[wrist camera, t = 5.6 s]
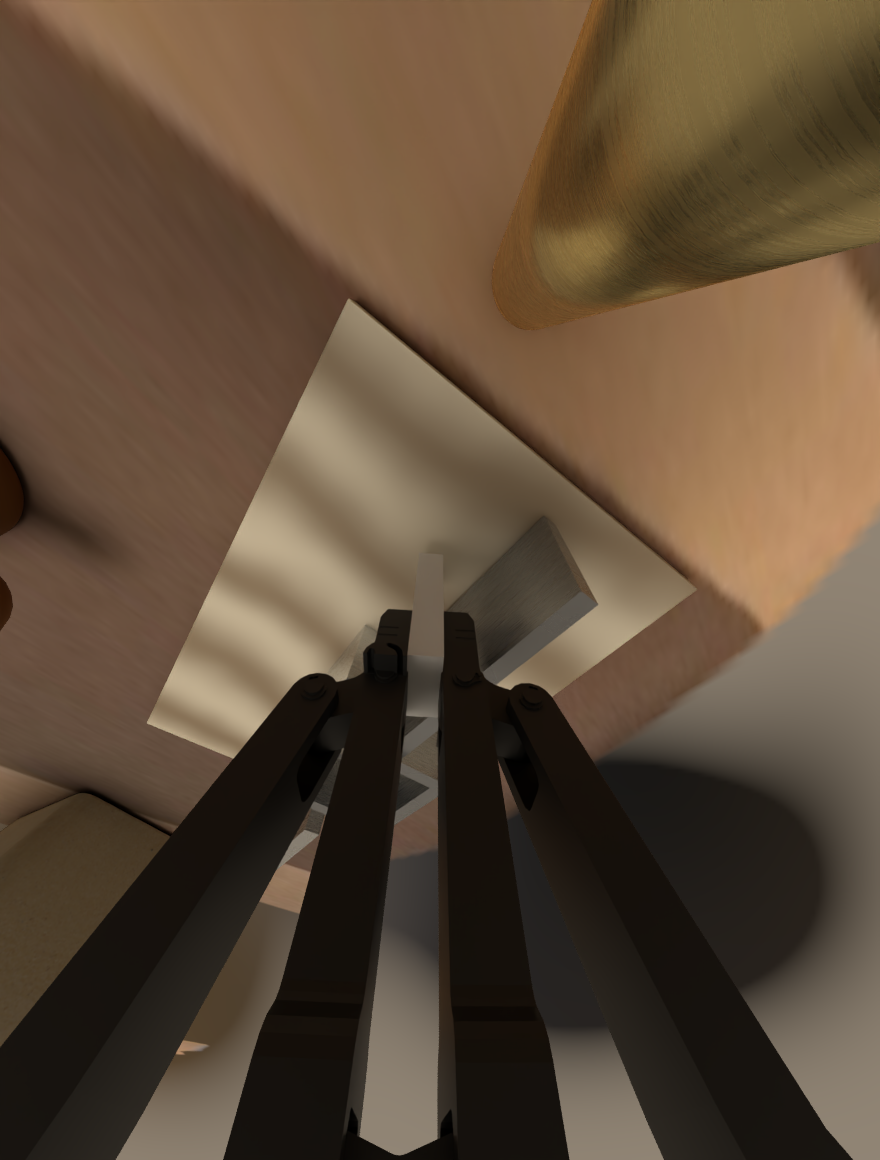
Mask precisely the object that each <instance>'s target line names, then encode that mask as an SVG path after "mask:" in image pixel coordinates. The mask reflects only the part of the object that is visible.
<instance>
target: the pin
mask: <svg viewBox="0 0 880 1160" xmlns="http://www.w3.org/2000/svg"><path fill="white" fill-rule="evenodd" d="M877 242H880V0H592V3H591V6H590V8H589V11H588V14H587V16H586V19H585V22H584V24H583V27H582V30H581V32H580V35H579V38H578V40H577V43H576V46H575V48H574V51H573V54H572V56H571V59H570V62H569V64H568V67H567V69H566V72H565V75H564V77H563V80H562V83H561V85H560V88H559V91H558V93H557V96H556V99H555V101H554V104H553V107H552V109H551V112H550V115H549V117H548V120H547V123H546V125H545V128H544V131H543V133H542V136H541V139H540V141H539V144H538V147H537V149H536V152H535V155H534V157H533V160H532V163H531V165H530V168H529V171H528V173H527V176H526V179H525V181H524V184H523V187H522V189H521V192H520V195H519V197H518V200H517V203H516V205H515V208H514V211H513V213H512V216H511V219H510V221H509V224H508V227H507V229H506V232H505V235H504V237H503V240H502V243H501V245H500V248H499V251H498V253H497V256H496V259H495V262H494V267H493V273H492V289H493V295H494V299H495V302H496V305H497V307H498V309H499V311H500V312H501V314H502V315H503V317H504V318H505V319H506V320H507V321H508V322H510V323H511V324H512V325H514V326H516V327H518V328H521V329H525V330H537V329H541V328H545V327H549V326H553V325H557V324H561V323H565V322H569V321H573V320H577V319H581V318H584V317H588V316H592V315H596V314H600V313H604V312H608V311H612V310H616V309H620V308H624V307H627V306H631V305H635V304H639V303H643V302H647V301H651V300H655V299H659V298H663V297H666V296H670V295H674V294H678V293H682V292H686V291H690V290H694V289H698V288H702V287H706V286H709V285H713V284H717V283H721V282H725V281H729V280H733V279H737V278H741V277H745V276H749V275H752V274H756V273H760V272H764V271H768V270H772V269H776V268H780V267H784V266H788V265H791V264H795V263H799V262H803V261H807V260H811V259H815V258H819V257H823V256H827V255H831V254H834V253H838V252H842V251H846V250H850V249H854V248H858V247H862V246H866V245H870V244H874V243H877Z"/></svg>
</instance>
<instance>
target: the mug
mask: <svg viewBox="0 0 880 1160" xmlns="http://www.w3.org/2000/svg"><path fill="white" fill-rule="evenodd" d="M23 507H24V497H23V491H22V487H21V484H20V481H19V478H18V476H17V474H16V472H15V470H14V468H13V466H12V465H11V463H10V461H9V460H8V458H7V457H6V455H5V454H4V453H3V451H2V450H1V449H0V536H1V535H3V534H4V533H6V532H7V531H9V530H10V529H12V528H13V527H14V526H15V525H16V523H17V522H18V520H19V519H20V517H21V515H22V511H23ZM12 608H13V603H12V595H11V592H10V590H9V588H8V586H7V584H6V582H5V581H4V580H3V579H2V578H1V577H0V630H1V629H2V628H3V626H4V625H5V624H6V622H7V621H8V619H9V618H10V615H11V611H12Z"/></svg>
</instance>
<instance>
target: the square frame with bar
mask: <svg viewBox="0 0 880 1160" xmlns="http://www.w3.org/2000/svg"><path fill="white" fill-rule="evenodd" d="M596 606H598V603H597V601H596V599H595V597H594V595H593V594H592V592H591V590H590V588H589V586H588V584H587V582H586V580H585V579H584V577H583V575H582V573H581V571H580V569H579V567H578V565H577V564H576V562H575V560H574V558H573V556H572V554H571V552H570V550H569V549H568V547H567V545H566V543H565V541H564V539H563V537H562V535H561V534H560V532H559V530H558V528H557V526H556V525H555V524H554V523H552V522H551V521H550V520H549V519H548V518H546V517H545V516H543V517H542V518H541V519H540V520H539V521H538V522H537V523H536V524H535V525H534V526H533V527H532V528H531V529H530V530H529V531H528V532H527V533H526V534H525V535H523V536H522V537H521V538H520V539H519V540H518V541H517V542H516V543H515V544H514V545H513V546H512V547H511V548H510V549H509V550H508V551H507V552H506V553H505V554H504V555H503V556H502V557H501V558H500V559H499V560H498V561H497V562H496V563H495V564H494V565H493V566H492V567H491V568H490V569H489V570H488V571H487V572H486V573H485V574H484V575H483V576H482V577H481V578H480V579H479V580H478V581H477V582H476V583H475V584H474V585H473V586H472V587H471V588H470V589H469V590H468V591H467V592H466V593H465V594H464V595H463V596H462V597H461V598H460V599H459V600H458V601H457V602H456V603H455V604H454V605H453V606H452V607H451V608H450V609H449V610H448V611H447V612H464V613H468V614H469V615H470V616H471V618H472V619H473V620H474V625H475V633H476V641H477V650H478V658H479V666H480V670H481V672H482V673H483V674H484V677H485V678H486V679H487V680H488V681H490V682H491V683H493V684H495V685H497V684H498V683H499V682H501V681H502V680H503V679H504V678H506V677H507V676H508V675H509V674H511V673H512V672H513V671H515V670H516V669H517V668H518V667H520V666H521V665H522V664H524V663H525V662H526V661H527V660H529V659H530V658H531V657H532V656H534V655H535V654H536V653H538V652H539V651H540V650H541V649H543V648H544V647H545V646H546V645H548V644H549V643H550V642H552V641H553V640H554V639H555V638H557V637H558V636H559V635H561V634H562V633H563V632H564V631H566V630H567V629H568V628H569V627H571V626H572V625H573V624H575V623H576V622H577V621H578V620H580V619H581V618H582V617H584V616H585V615H586V614H587V613H589V612H590V611H591V610H592V609H594V608H595V607H596ZM437 733H438V718H436V717H415V716H406V720H405V736H404V745H403V754H402V762H401V771H400V779H399V788H398V796H397V805H396V813H395V822H394V825H395V824H397V823H398V822H400V821H401V820H403V819H404V818H406V817H407V816H409V815H410V814H412V813H414V812H415V811H417V810H418V809H420V808H421V807H423V806H424V805H426V804H427V803H429V802H430V801H432V800H433V799H435V798H436V797H438V747H436V743H437ZM340 761H341V759H339V758H337V760H336V762H335V764H334V766H333V768H332V769H331V771H330V773H329V775H328V777H327V778H326V780H325V782H324V784H323V786H322V788H321V789H320V791H319V793H318V795H317V797H316V799H315V800H314V802H313V804H312V806H311V809H313V810H316V811H318V812H321V813H323V814H325V815H326V814H327V810H328V806H329V802H330V799H331V795H332V791H333V787H334V784H335V780H336V776H337V772H338V768H339V765H340Z"/></svg>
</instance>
